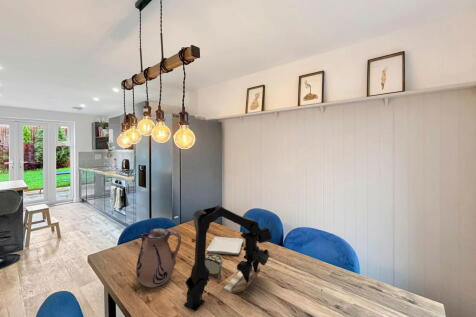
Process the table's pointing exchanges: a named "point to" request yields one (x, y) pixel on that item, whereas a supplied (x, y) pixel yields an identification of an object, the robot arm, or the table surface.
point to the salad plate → (225, 245)
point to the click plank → (243, 284)
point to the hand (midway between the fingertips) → (251, 276)
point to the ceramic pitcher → (156, 257)
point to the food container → (214, 265)
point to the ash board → (234, 282)
